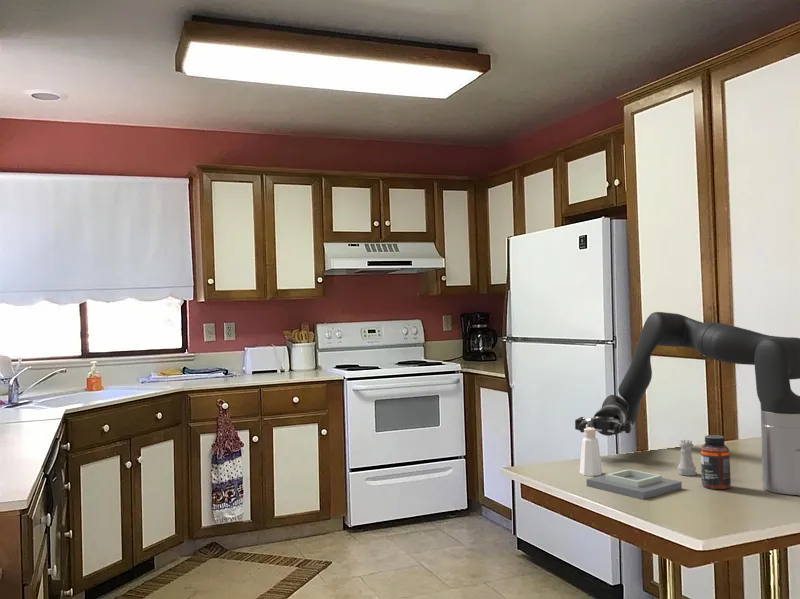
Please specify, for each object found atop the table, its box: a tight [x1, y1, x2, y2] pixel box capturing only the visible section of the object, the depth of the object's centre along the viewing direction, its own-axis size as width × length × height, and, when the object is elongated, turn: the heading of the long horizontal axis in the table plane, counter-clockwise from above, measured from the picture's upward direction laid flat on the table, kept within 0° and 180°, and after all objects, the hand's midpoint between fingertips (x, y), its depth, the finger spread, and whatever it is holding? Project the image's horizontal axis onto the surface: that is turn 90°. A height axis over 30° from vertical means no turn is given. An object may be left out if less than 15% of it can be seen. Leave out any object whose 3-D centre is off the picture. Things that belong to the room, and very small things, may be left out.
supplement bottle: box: [700, 434, 732, 491], centre depth 159 cm, size 6×6×11 cm
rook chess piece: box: [676, 439, 697, 477], centre depth 171 cm, size 4×4×8 cm
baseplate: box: [586, 468, 683, 500], centre depth 160 cm, size 15×14×3 cm
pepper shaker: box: [579, 427, 603, 477], centre depth 174 cm, size 5×5×11 cm
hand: (598, 429), depth 184 cm, fingers open, 8 cm apart
